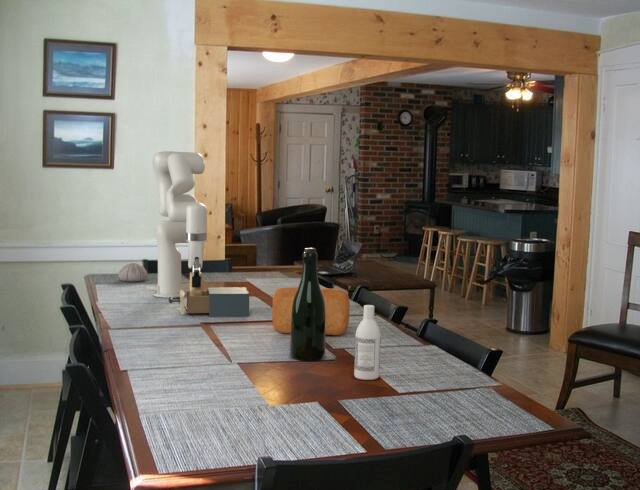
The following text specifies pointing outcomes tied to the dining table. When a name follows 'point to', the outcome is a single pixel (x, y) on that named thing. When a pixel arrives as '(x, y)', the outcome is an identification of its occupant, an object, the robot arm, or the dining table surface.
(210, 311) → the cabinet
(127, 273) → the sea urchin shell
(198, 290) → the cylinder
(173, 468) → the dining table surface
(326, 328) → the bread
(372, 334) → the bath foam
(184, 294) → the robot arm
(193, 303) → the drawer
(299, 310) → the green wine bottle
